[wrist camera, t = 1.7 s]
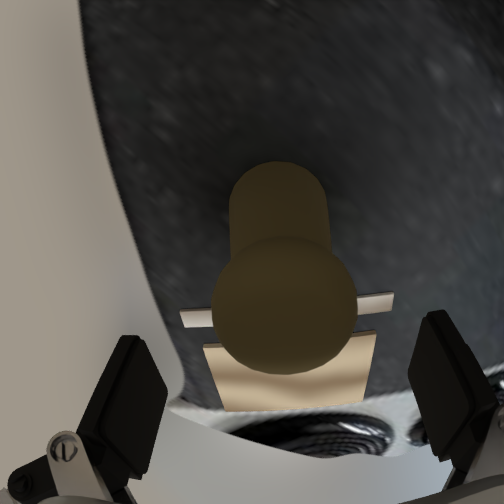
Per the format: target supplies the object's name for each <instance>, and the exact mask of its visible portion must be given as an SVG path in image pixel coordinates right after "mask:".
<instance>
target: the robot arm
mask: <svg viewBox="0 0 504 504" xmlns="http://www.w3.org/2000/svg"><path fill="white" fill-rule="evenodd" d="M408 379H409V382H410V384H411V387H412V390H413V393H414V396H415V399H416V401H417V404H418V407H419V410H420V413H421V416H422V420H423V423H424V426H425V429H426V432H427V435H428V439H429V442H430V445H431V449H432V452H433V454H434V456H438V458H439V461H440V462H443V461H446V460H449V459H451V461H452V465H453V469H452V471H451V473H450V475H449V477H448V479H447V481H446V483H445V485H444V487H443V489H442V491H441V492H439V493H436V494H432V495H429V496H426V497H422V498H418V499H415V500H411V501H407V502H403V503H399V504H504V403H503V404H501V405H500V404H499V402H498V400H497V398H496V396H495V394H494V392H493V390H492V388H491V386H490V384H489V382H488V380H487V378H486V376H485V374H484V372H483V370H482V369H481V367H480V365H479V363H478V361H477V359H476V358H475V356H474V354H473V352H472V351H471V349H470V347H469V346H468V345H467V344H466V343H465V342H464V340H463V338H462V337H461V335H460V333H459V332H458V330H457V328H456V327H455V325H454V323H453V322H452V320H451V318H450V317H449V315H448V314H447V312H446V311H445V310H437V311H431V312H428V313H427V315H426V317H424V318H423V319H422V322H421V326H420V330H419V334H418V338H417V341H416V345H415V348H414V352H413V355H412V359H411V362H410V365H409V368H408ZM167 396H168V390H167V387H166V385H165V383H164V381H163V379H162V377H161V375H160V373H159V371H158V369H157V366H156V364H155V362H154V360H153V358H152V356H151V354H150V352H149V349H148V347H147V345H146V343H145V341H144V340H142V339H140V337H139V336H137V335H122V336H121V337H120V339H119V341H118V343H117V345H116V347H115V349H114V351H113V353H112V355H111V357H110V359H109V361H108V363H107V365H106V367H105V369H104V371H103V373H102V375H101V377H100V379H99V382H98V384H97V386H96V388H95V390H94V392H93V395H92V397H91V399H90V401H89V403H88V406H87V408H86V410H85V413H84V415H83V417H82V419H81V422H80V424H79V426H78V429H77V431H76V433H74V432H72V431H62V432H59V433H57V434H56V435H54V436H53V437H52V438H51V439H50V441H49V443H48V445H47V450H46V451H47V454H46V455H44V456H42V457H40V458H38V459H36V460H34V461H32V462H30V463H28V464H26V465H24V466H22V467H20V468H18V469H16V470H15V471H13V472H12V474H11V475H10V477H9V479H8V485H7V486H8V489H5V488H3V489H2V490H1V491H0V504H137V502H136V500H135V499H134V497H133V495H132V493H131V491H130V490H129V488H128V486H127V483H128V480H129V478H132V479H138V480H141V479H142V475H143V474H145V473H146V472H147V470H148V467H149V463H150V459H151V455H152V452H153V448H154V444H155V440H156V436H157V433H158V429H159V425H160V421H161V418H162V414H163V411H164V407H165V403H166V400H167Z"/></svg>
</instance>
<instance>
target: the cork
mask: <svg viewBox="0 0 504 504" xmlns="http://www.w3.org/2000/svg"><path fill="white" fill-rule="evenodd" d="M229 227H230V249H231V261H230V262H229V263H228V264H227V265H226V266H225V267H224V269H223V270H222V271H221V273H220V275H219V278H218V280H217V283H216V285H215V288H214V291H213V295H212V298H211V310H212V322H213V328H214V330H215V333H216V335H217V337H218V339H219V341H220V343H221V344H222V346H223V347H224V349H225V350H226V351H227V352H228V353H229V354H230V355H231V356H232V357H233V358H234V359H235V360H236V361H237V362H239V363H241V364H242V365H244V366H246V367H248V368H250V369H252V370H255V371H259V372H263V373H267V374H275V375H291V374H297V373H303V372H308V371H310V370H313V369H315V368H318V367H320V366H323V365H324V364H326V363H327V362H329V361H330V360H332V359H333V358H335V357H336V356H337V355H338V354H339V353H340V352H341V350H342V349H343V348H344V347H345V345H346V344H347V343H348V341H349V339H350V337H351V336H352V333H353V330H354V327H355V324H356V321H357V318H358V303H357V292H356V288H355V285H354V283H353V280H352V278H351V277H350V275H349V273H348V271H347V269H346V267H345V266H344V264H343V263H342V262H341V261H340V260H339V259H338V258H337V257H336V256H335V255H334V254H332V246H331V235H330V225H329V215H328V206H327V200H326V195H325V191H324V189H323V188H322V186H321V184H320V182H319V181H318V179H317V178H316V177H315V176H314V175H313V174H311V173H310V172H309V171H308V170H307V169H306V168H303V167H301V166H298V165H296V164H294V163H291V162H281V161H272V162H268V163H263V164H259V165H257V166H255V167H254V168H252V169H250V170H249V171H247V172H245V173H244V174H243V175H242V177H241V178H240V179H239V180H238V181H237V183H236V184H235V185H234V188H233V190H232V193H231V195H230V198H229Z"/></svg>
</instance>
